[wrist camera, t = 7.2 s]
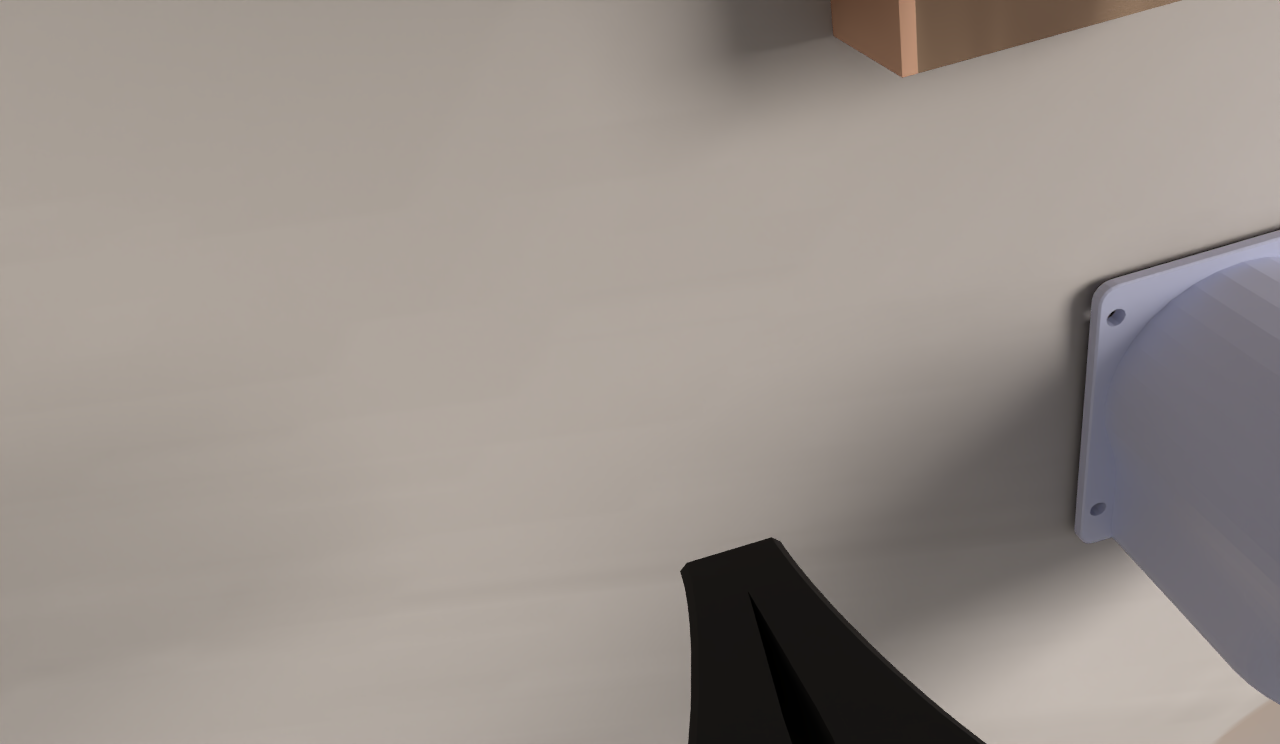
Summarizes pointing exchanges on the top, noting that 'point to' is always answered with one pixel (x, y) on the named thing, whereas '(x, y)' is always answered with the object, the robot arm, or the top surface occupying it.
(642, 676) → the top surface
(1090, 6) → the walnut block
